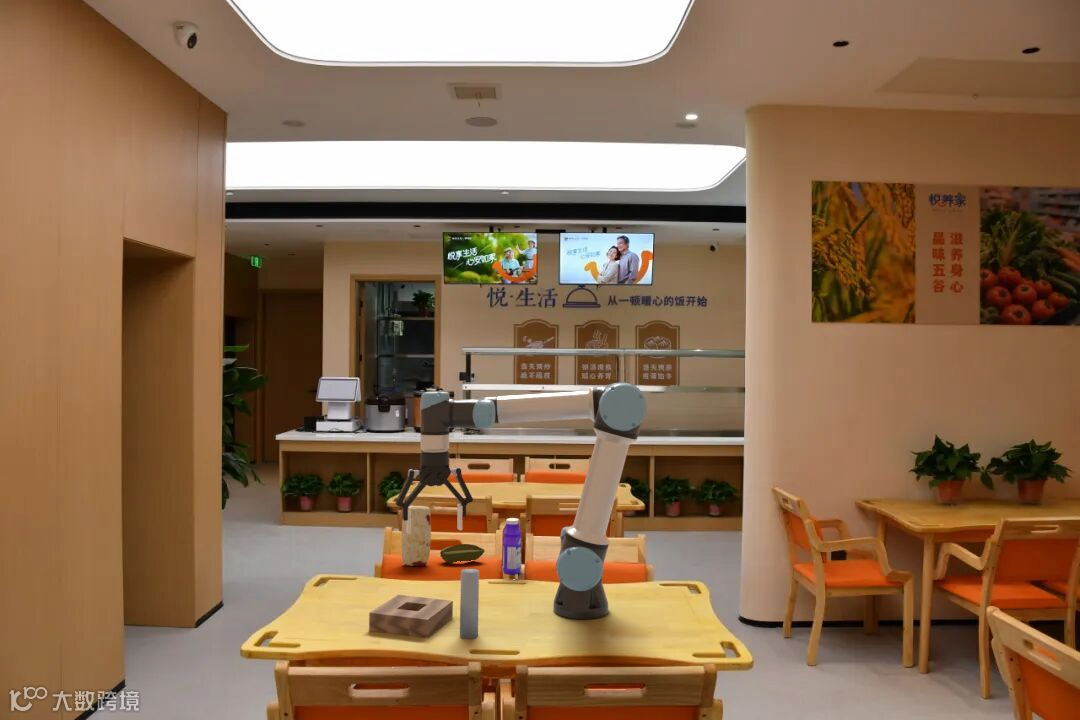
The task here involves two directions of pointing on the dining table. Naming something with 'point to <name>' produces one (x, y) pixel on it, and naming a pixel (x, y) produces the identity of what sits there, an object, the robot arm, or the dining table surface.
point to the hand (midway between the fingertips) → (434, 531)
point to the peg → (469, 603)
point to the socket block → (411, 616)
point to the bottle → (512, 547)
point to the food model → (417, 537)
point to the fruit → (461, 553)
